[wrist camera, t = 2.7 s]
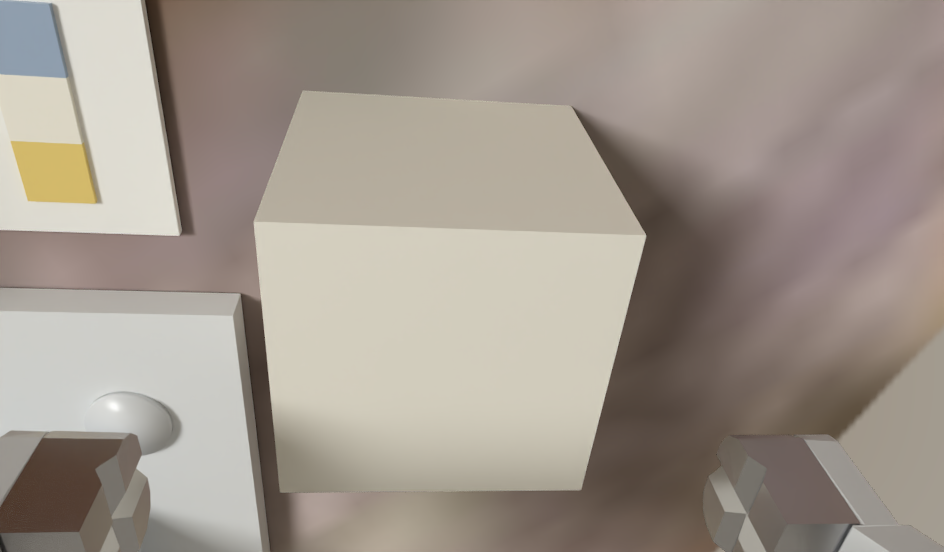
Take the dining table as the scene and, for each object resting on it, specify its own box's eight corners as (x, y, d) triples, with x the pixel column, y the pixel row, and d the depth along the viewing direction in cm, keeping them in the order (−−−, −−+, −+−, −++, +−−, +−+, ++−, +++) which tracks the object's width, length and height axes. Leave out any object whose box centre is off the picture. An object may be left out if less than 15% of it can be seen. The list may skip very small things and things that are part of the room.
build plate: (-398, 278, 13) (-451, 307, 13) (240, 293, 15) (230, 322, 14) (-100, 696, 22) (-119, 730, 21) (285, 681, 24) (280, 713, 23)
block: (303, 89, 13) (253, 222, 9) (570, 104, 13) (645, 235, 9) (313, 310, 15) (279, 492, 11) (535, 315, 16) (581, 489, 12)
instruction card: (-133, -60, 11) (-145, -57, 10) (137, -39, 11) (132, -36, 11) (-33, 223, 13) (-41, 230, 13) (182, 230, 14) (178, 238, 14)
